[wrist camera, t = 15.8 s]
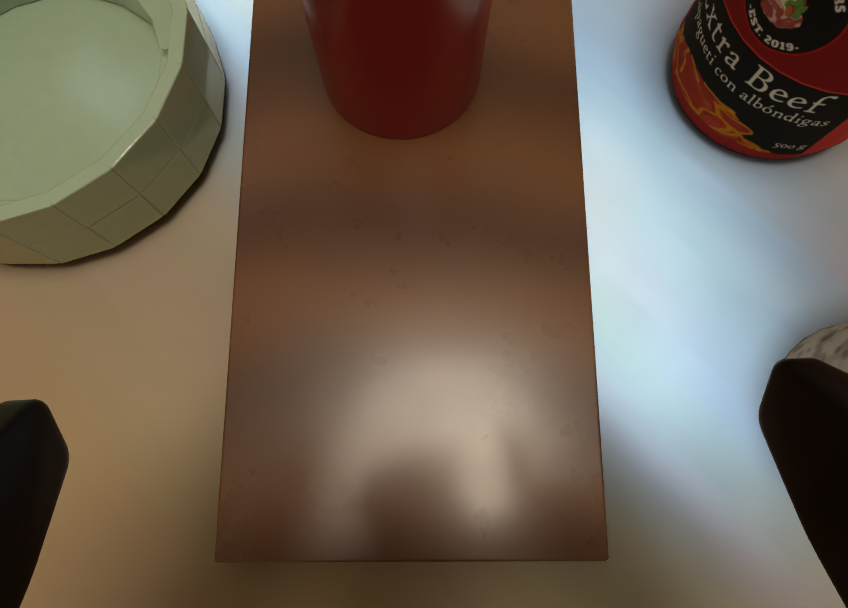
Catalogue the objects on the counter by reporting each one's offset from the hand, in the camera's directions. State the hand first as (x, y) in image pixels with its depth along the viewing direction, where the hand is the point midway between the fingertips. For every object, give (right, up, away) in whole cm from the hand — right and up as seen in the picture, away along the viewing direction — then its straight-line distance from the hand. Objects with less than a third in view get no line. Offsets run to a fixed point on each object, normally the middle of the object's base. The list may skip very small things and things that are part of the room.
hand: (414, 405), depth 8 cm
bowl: (-14, +9, +16) cm, 23 cm away
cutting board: (0, +3, +15) cm, 15 cm away
